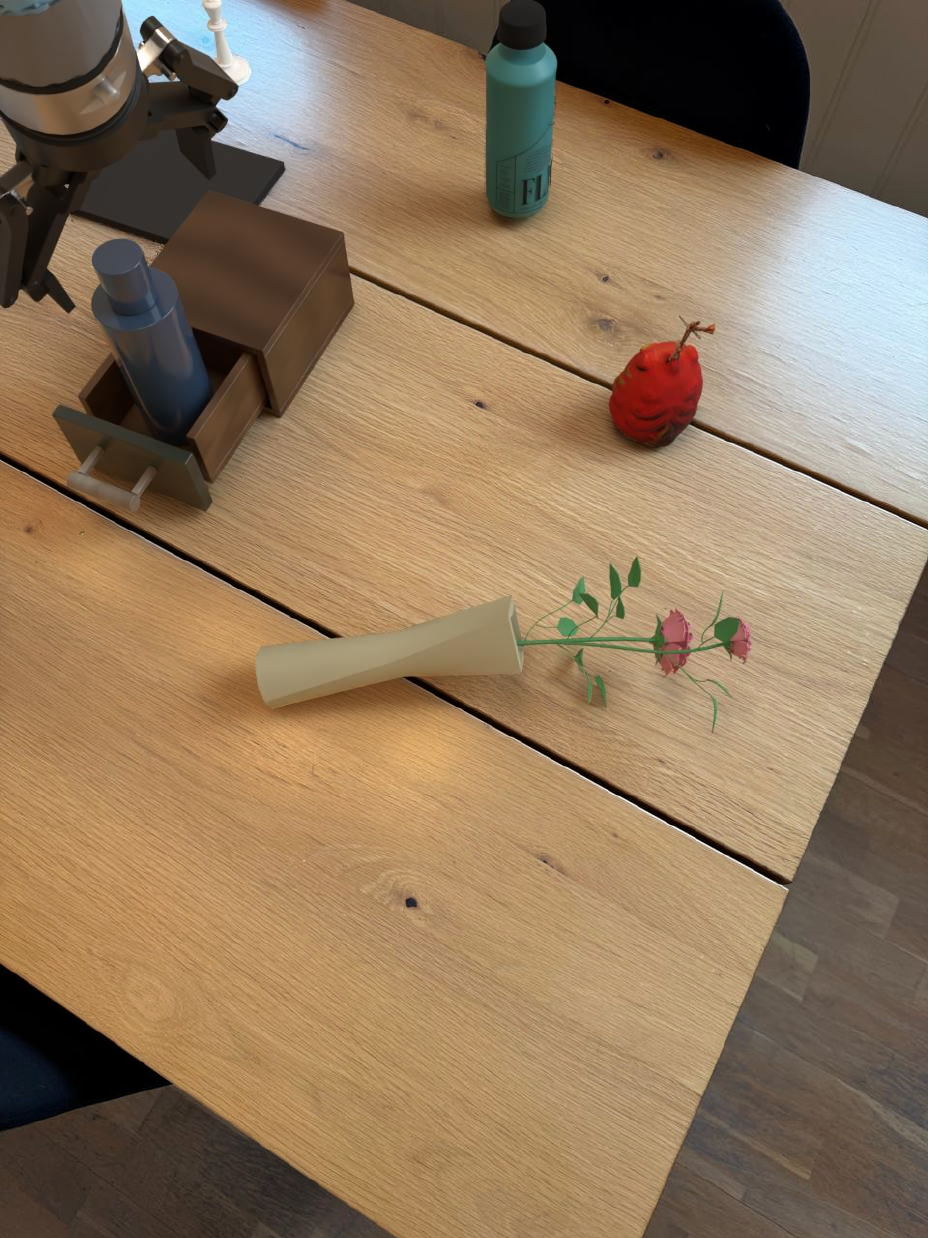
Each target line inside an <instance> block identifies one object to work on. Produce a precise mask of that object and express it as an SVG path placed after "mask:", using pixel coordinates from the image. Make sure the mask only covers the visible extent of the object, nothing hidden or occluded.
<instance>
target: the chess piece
mask: <svg viewBox="0 0 928 1238" xmlns="http://www.w3.org/2000/svg"><path fill="white" fill-rule="evenodd" d="M201 6H202V7H203V9H204V11H205V13H206V14H207V16H208V18H209V20H208V21H207V23H206V28H207V29H208V31H210V32H212V33H213V34H214V42H215V49H216V50H215V51H216V57H215V58H212V59H213V60H214V61H215V62H216V63H217V64H218V65H219V66H220V67H221V68H222V69H223V70H224V71H225V72H226V73H227V74H228V75H229V77H230V78H231V79H232V80H233V81H234V82H235V83H236V84H237V85H238V86H239V87H240V86H242V85H244V84H246V83H247V82H248V81H249V80H250V78H251V75H252V69H251V66H250V63H249V62H248V60H247V59H246V58H244V57H243V56H240V55H238V54H232V50H231V48H230V45H229V44H228V43H229V42H228V41H227V37H226V34H225V31H224V30H226V29H227V28H228V22H227V19H225V18H224V17H222V9H223V8H222V7H223V2H222V0H202V2H201Z"/></svg>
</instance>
